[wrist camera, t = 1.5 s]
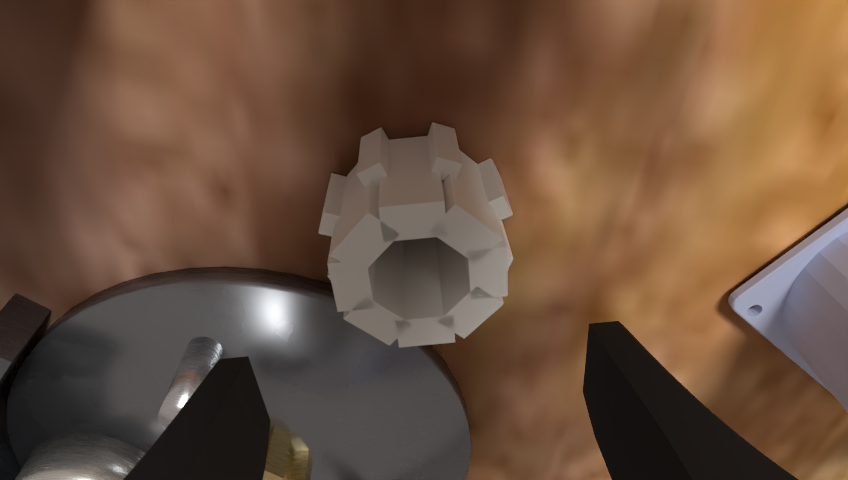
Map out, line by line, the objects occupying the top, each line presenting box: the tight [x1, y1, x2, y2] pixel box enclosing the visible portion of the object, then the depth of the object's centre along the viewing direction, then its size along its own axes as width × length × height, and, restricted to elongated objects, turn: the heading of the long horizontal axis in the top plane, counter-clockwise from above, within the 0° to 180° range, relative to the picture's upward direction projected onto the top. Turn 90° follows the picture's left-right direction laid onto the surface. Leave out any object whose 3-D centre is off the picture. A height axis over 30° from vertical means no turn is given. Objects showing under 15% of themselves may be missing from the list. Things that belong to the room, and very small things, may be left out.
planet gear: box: [318, 122, 513, 348], centre depth 17 cm, size 5×5×4 cm
